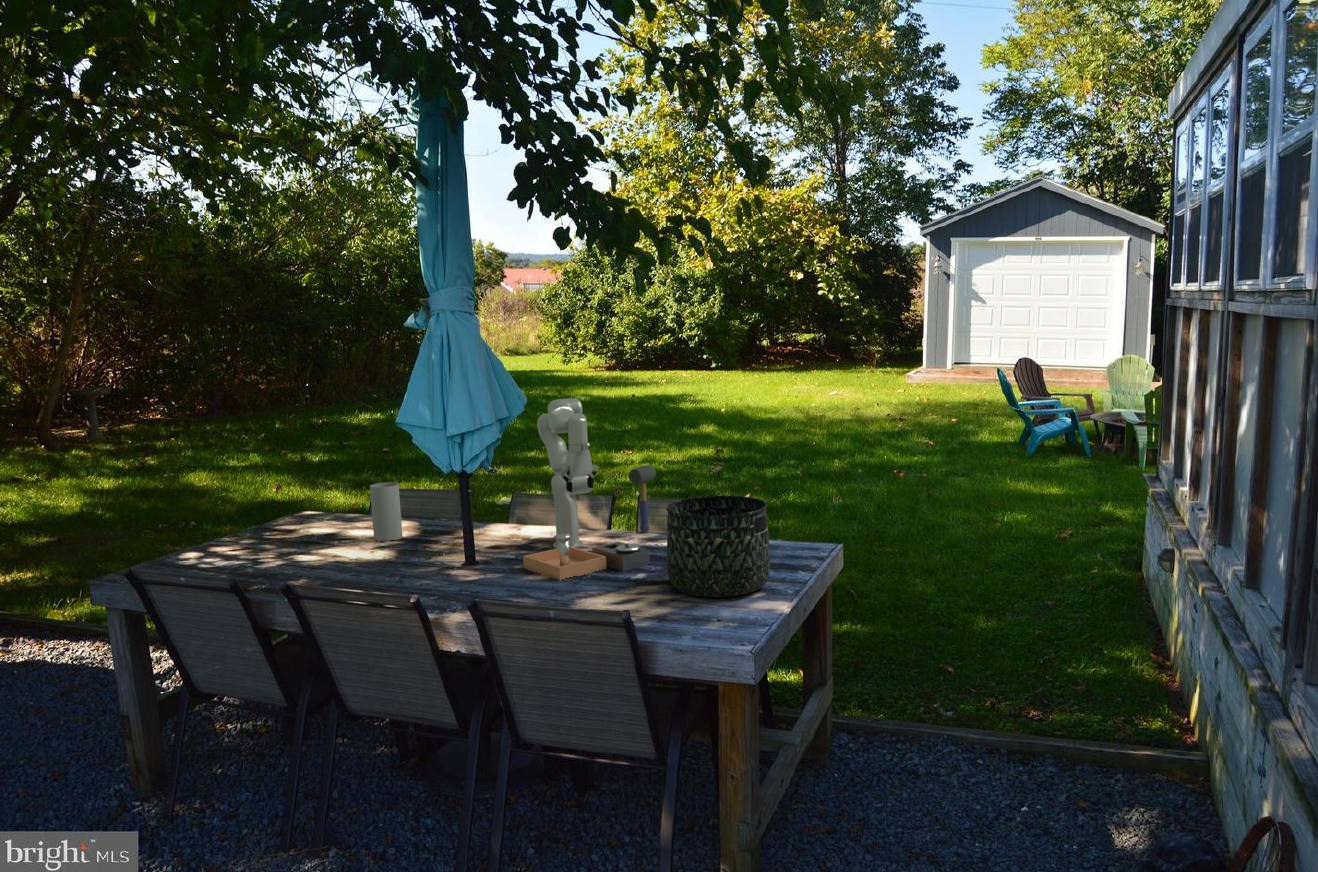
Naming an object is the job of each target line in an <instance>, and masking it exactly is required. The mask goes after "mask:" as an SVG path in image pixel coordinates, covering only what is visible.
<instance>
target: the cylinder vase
mask: <svg viewBox="0 0 1318 872" xmlns="http://www.w3.org/2000/svg"><path fill="white" fill-rule="evenodd" d="M369 488H370V489H369V491H370V492H369V493H370V504H371V516H372V530H373V540H374V541H375V540H379V541H390V540H396V541H399V540H401V539H402V538H403V527H402V512H401V510H402V509H401V501H400V499H401V498H400V487H399V483H398V482H394V481H393V482H387V481H386V482H379V483H374V484H371V485H369ZM390 542H391V541H390Z"/></svg>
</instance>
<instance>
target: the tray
mask: <svg viewBox="0 0 1318 872" xmlns="http://www.w3.org/2000/svg"><path fill="white" fill-rule="evenodd" d="M569 554H570V565H566V566H561V567H560V559H559V548H553V549H548V550H544V551H540V552H536V553H530V554H526V555H523V557H522V559H523V569H524V568H526V569H525V570H527V569H528V570H527V571H530V570H531V571H530V572H533V571H534V572H533V573H536V572H537V573H536V574H539V573H540V574H539V575H543V576H545V577H548V576H550V577H549V578H551V577H553V578H552V579H554V578H556V579H555V580H557V579H559V580H558V581H563V580H562V579H564V580H566V579H565V578H569V577H573V576H577V577H579V576H584V574H585V575H588V573H589V574H592V572H593V573H596V572H595V571H597V572H600V571H599V570H601V571H603V570H602V569H605V570H607V566H606V557H605V556H602V555H598V554H595V553H592V552H590V551H589V550H588V551H587V550H584V549H580V548H574V547H570V546H569ZM573 578H574V577H573ZM569 579H570V578H569Z"/></svg>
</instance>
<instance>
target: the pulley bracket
mask: <svg viewBox="0 0 1318 872" xmlns="http://www.w3.org/2000/svg"><path fill="white" fill-rule="evenodd" d="M591 550H592V552H591V553H595V554H598V555H602V556H605V557H606V565H608V566H610V567H609V568H611V567H613V568H612V569H614V568H616V569H615V570H618V571H621V572H626V571H630V570H633V569H637V567H638V568H642V567H645V565H646V566H649V565H648V564H650V549H647V548H644V547H641V546H640V545H639V544H635V543H633V544H631V543H624V542H620V541H615V542H611V543H610V542H609V543H606V544H603V545H598V546H592V547H591ZM641 566H642V567H641Z"/></svg>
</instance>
